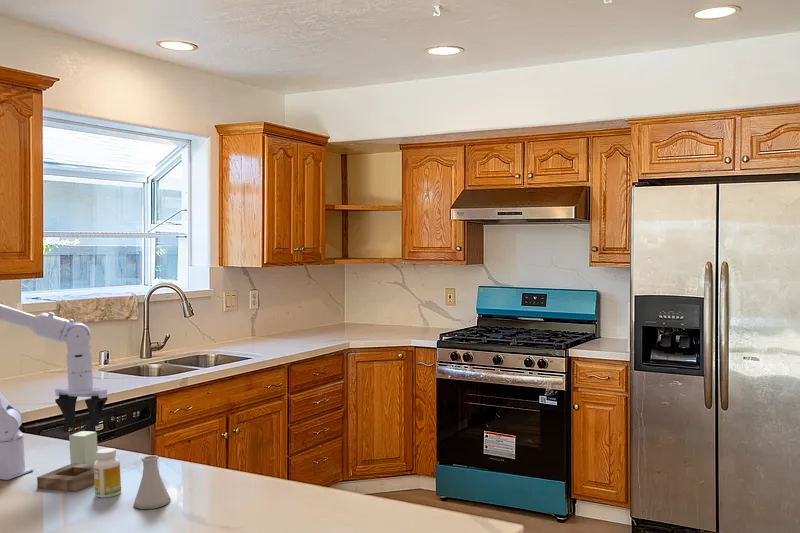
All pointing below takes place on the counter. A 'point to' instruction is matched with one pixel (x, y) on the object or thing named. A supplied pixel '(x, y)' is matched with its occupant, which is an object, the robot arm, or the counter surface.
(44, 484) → the socket
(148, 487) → the flask
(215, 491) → the counter surface
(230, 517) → the counter surface
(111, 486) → the supplement bottle
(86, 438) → the peg
